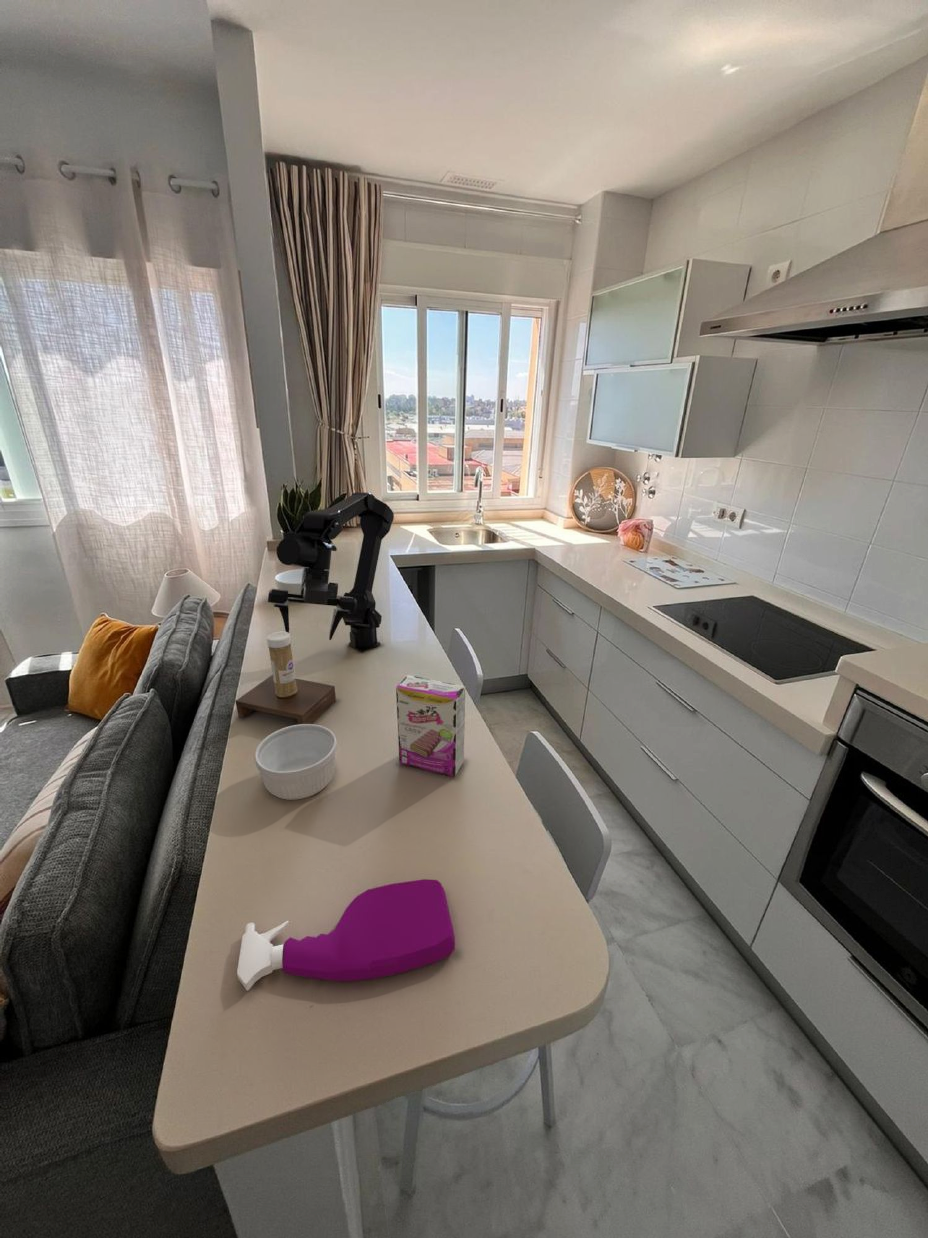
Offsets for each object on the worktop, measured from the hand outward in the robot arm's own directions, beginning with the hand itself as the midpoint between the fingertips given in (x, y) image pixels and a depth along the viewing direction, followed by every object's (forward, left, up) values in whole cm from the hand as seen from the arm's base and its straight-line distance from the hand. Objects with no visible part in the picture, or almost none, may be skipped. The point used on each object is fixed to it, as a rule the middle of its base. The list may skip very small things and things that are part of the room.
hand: (309, 638), depth 111 cm
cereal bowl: (-29, -59, -12) cm, 67 cm away
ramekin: (+18, +27, -12) cm, 35 cm away
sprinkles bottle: (+9, +5, -8) cm, 13 cm away
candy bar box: (-1, +40, -12) cm, 42 cm away
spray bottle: (+28, +58, -12) cm, 66 cm away
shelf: (+9, +5, -12) cm, 16 cm away
